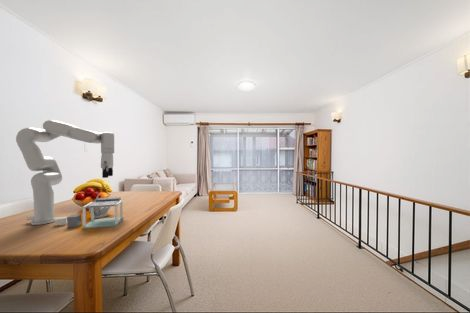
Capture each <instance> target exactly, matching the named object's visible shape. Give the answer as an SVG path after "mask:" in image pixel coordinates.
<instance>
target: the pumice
mask: <svg viewBox="0 0 470 313" xmlns="http://www.w3.org/2000/svg"><path fill="white" fill-rule="evenodd" d="M67 217H68V216H60V217H57V218H56V219H55V221H54V223H55V224H54V225H55V226H56V227H57V226H58V225H59V226H65V225H67Z"/></svg>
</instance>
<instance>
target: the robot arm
mask: <svg viewBox="0 0 470 313" xmlns="http://www.w3.org/2000/svg"><path fill="white" fill-rule="evenodd" d="M59 137H65V138H69V139H73V140H76V141H80V142H84V143H89V144H100V153H101V157H100V168H101V171H102V173H101V175H102V179H104V178H105V179H106V178H109V177H113V175H114V171H113V170H114V169H113V168H114V154H115V133H113V132H109V131H104V132H97V131H94V130H93V131H92V130H89V129H84V128H80V127H77V126H76V125H73V124H69V123H66V122H63V121H59V120H55V119H48V120H45V121H44V122H43V123H42V128H38V127H24V128H22V129H20V130H19V131H18V132H17V134H16V137H15V142H16V144H17V146H18V148H19V150H20V152H21V153H22V157H23V159H24V161H25V164H26V166H27V168H28V170H30V171H31V172H38V173H36V174H33V176H32V177H31V179H30V185H31V189H32V197H33V198H32V199H33V215H29V216H27V217H26V220H27V221H30V225H31V226H40V225H45V224H49V223H53V222H54V223H55V219H56V218H58V216H57V217H56V216H55V193H54V189H53V186H56V185H59V184H60V183H61V182H62V181H63V175H62V172H61V170H60V167H59V165H58V163H57V161H56V160H55V158H53V157H52V156H48V155H43V153H42V150H41V149H40V147H39V146H38V145H37V143H38V142H39V143H47V142H51V141H52V140H55V139H57V138H59ZM36 142H37V143H36Z"/></svg>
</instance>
